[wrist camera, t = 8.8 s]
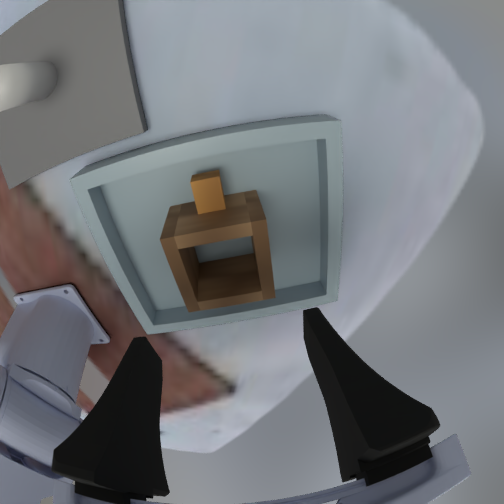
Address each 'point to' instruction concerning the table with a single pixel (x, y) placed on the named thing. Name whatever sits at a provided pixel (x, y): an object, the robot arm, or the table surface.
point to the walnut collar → (215, 230)
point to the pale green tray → (233, 181)
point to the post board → (65, 85)
